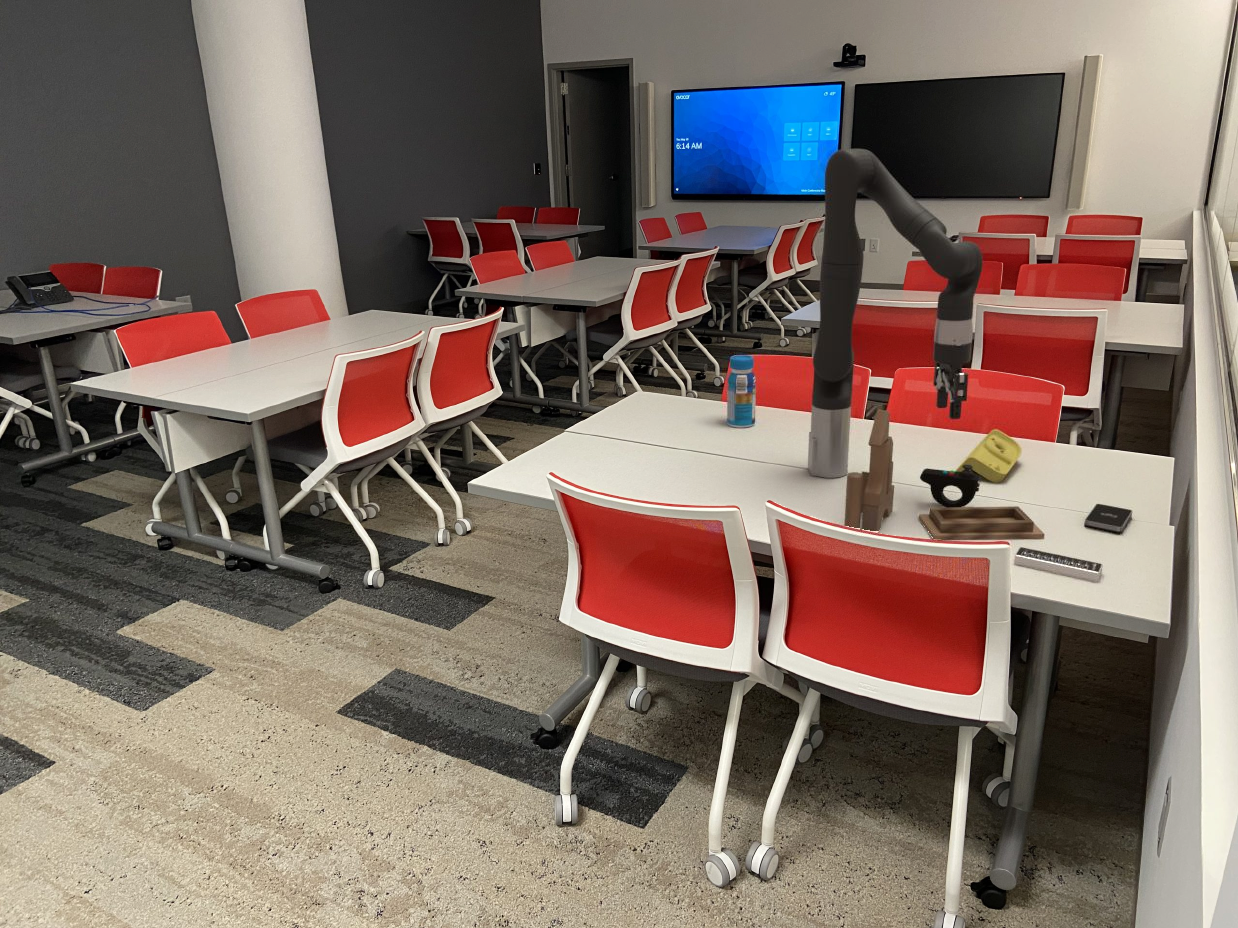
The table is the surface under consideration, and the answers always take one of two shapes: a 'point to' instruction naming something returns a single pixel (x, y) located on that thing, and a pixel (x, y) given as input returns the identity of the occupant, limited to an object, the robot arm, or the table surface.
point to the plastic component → (993, 456)
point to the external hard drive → (1108, 518)
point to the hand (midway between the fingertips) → (948, 413)
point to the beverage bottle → (741, 392)
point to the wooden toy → (872, 481)
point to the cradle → (980, 523)
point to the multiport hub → (1058, 564)
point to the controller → (951, 478)
